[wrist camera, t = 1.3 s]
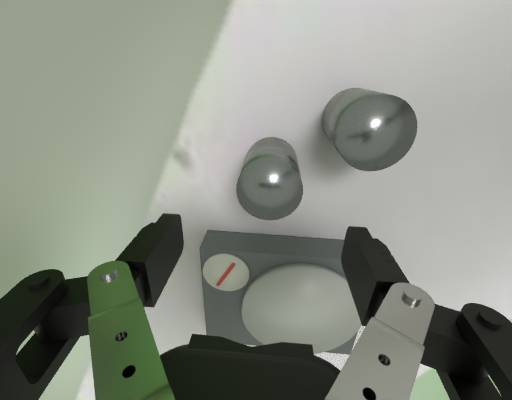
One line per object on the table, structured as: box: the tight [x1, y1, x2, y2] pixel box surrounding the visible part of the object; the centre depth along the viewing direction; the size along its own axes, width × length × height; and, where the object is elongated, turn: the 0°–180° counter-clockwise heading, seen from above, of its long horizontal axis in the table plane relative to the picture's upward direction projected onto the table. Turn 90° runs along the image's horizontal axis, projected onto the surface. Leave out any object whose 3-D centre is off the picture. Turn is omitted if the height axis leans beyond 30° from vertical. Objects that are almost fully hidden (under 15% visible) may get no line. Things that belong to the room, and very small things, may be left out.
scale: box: [200, 230, 361, 354], centre depth 27 cm, size 16×13×4 cm
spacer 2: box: [322, 88, 417, 171], centre depth 18 cm, size 4×4×6 cm
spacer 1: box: [236, 137, 303, 220], centre depth 20 cm, size 4×4×6 cm
